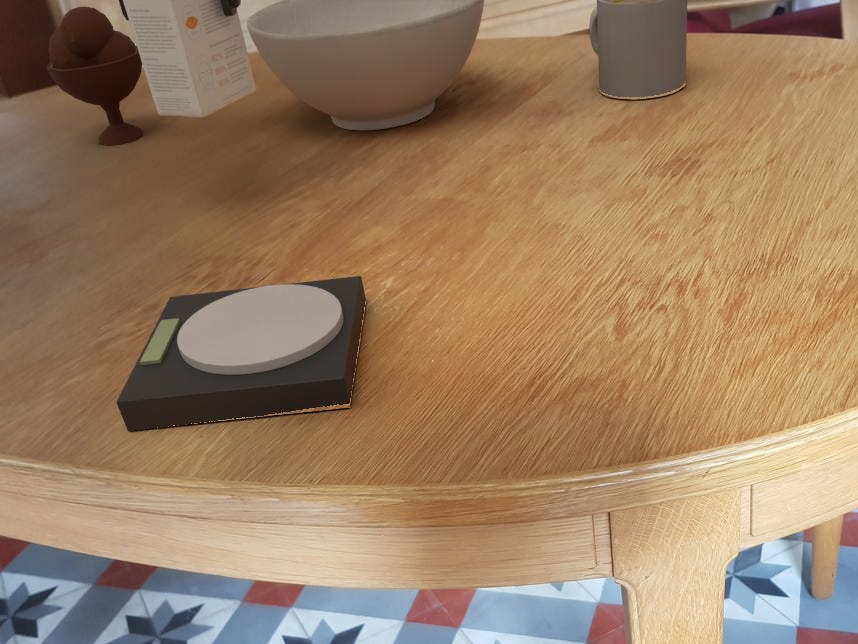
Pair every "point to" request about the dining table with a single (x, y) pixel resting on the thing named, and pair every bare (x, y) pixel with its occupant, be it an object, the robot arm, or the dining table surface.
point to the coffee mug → (640, 46)
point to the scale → (247, 354)
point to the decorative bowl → (367, 54)
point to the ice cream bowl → (96, 67)
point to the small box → (190, 55)
